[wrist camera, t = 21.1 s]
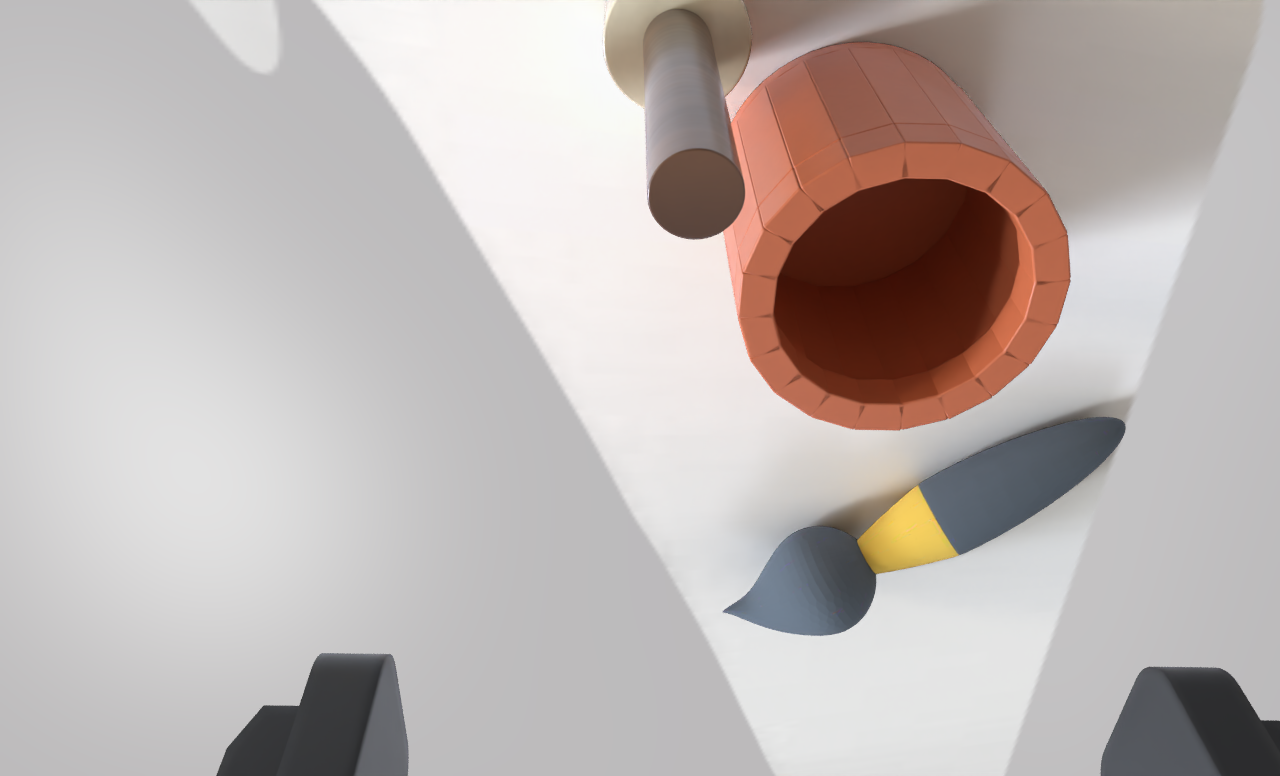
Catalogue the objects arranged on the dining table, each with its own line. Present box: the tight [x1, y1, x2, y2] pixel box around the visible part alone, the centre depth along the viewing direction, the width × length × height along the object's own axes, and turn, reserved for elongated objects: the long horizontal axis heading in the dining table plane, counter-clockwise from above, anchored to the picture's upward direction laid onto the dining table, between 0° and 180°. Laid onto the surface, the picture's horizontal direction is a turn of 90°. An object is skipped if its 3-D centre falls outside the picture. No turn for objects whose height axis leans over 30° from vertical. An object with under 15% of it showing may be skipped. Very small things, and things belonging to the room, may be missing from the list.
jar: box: [723, 42, 1071, 430], centre depth 35 cm, size 10×10×10 cm
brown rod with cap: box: [603, 0, 752, 239], centre depth 30 cm, size 5×5×16 cm
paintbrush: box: [723, 417, 1125, 636], centre depth 47 cm, size 20×5×5 cm, turn 128°
